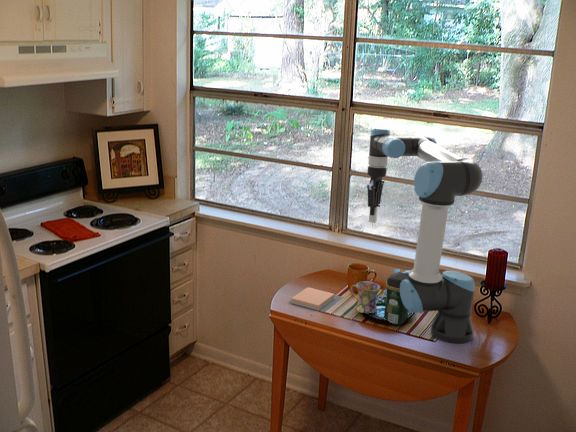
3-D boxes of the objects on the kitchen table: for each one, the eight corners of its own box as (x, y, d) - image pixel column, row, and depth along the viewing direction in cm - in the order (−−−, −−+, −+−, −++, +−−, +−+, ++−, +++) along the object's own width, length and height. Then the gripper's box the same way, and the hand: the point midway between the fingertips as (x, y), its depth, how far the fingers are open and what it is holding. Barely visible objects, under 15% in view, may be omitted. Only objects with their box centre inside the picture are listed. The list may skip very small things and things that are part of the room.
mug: (382, 310, 256) (384, 285, 253) (371, 318, 249) (373, 292, 246) (354, 302, 262) (356, 277, 259) (343, 309, 255) (345, 284, 252)
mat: (309, 290, 272) (309, 288, 272) (343, 299, 265) (344, 297, 265) (287, 304, 257) (287, 302, 257) (324, 314, 250) (324, 312, 250)
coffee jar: (390, 313, 254) (395, 268, 249) (409, 318, 250) (414, 273, 245) (379, 321, 246) (384, 275, 241) (399, 327, 242) (404, 280, 237)
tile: (307, 287, 268) (291, 298, 256) (334, 293, 263) (318, 305, 251) (307, 291, 269) (291, 302, 257) (334, 298, 263) (318, 310, 251)
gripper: (374, 162, 270) (370, 217, 277) (362, 167, 259) (357, 224, 266) (391, 164, 267) (386, 220, 273) (380, 169, 256) (375, 227, 262)
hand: (372, 222), depth 269 cm, fingers closed
